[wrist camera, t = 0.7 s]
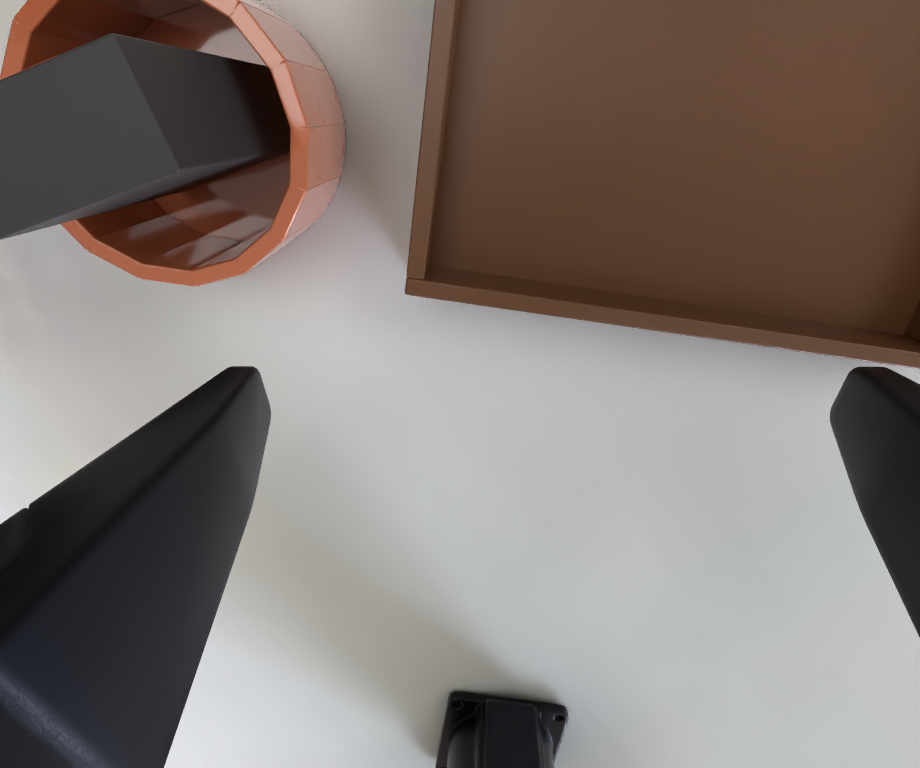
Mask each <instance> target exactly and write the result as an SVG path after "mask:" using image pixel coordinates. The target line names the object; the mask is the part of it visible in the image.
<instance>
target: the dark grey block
mask: <svg viewBox="0 0 920 768" xmlns="http://www.w3.org/2000/svg"><path fill="white" fill-rule="evenodd" d="M289 152H290V126H289V123H288V120H287V117H286V114H285V111H284V109H283V106H282V103H281V100H280V97H279V94H278V91H277V88H276V85H275V83H274V80H273V77H272V74H271V71H270V69H269V68H268V67H267V66H264V65H259V64H255V63H250V62H245V61H241V60H236V59H231V58H227V57H222V56H218V55H213V54H208V53H204V52H199V51H194V50H190V49H185V48H180V47H176V46H171V45H166V44H162V43H157V42H153V41H148V40H143V39H139V38H134V37H129V36H125V35H120V34H115V33H110V34H108V35H106V36H103V37H101V38H98V39H96V40H94V41H91V42H89V43H87V44H84V45H82V46H80V47H77V48H75V49H72V50H70V51H68V52H65V53H63V54H61V55H58V56H55V57H52V58H50V59H48V60H45V61H43V62H40V63H38V64H36V65H33V66H31V67H29V68H26V69H24V70H22V71H19V72H18V73H16V74H13V75H11V76H9V77H6V78H4V79H1V80H0V239H4V238H8V237H12V236H16V235H19V234H23V233H27V232H31V231H35V230H38V229H42V228H46V227H50V226H53V225H57V224H61V223H65V222H69V221H72V220H76V219H80V218H84V217H88V216H91V215H95V214H99V213H103V212H107V211H110V210H114V209H118V208H122V207H126V206H129V205H133V204H137V203H141V202H145V201H148V200H152V199H156V198H160V197H163V196H167V195H171V194H175V193H179V192H182V191H185V190H187V189H190V188H193V187H196V186H198V185H201V184H204V183H207V182H209V181H212V180H215V179H218V178H220V177H223V176H226V175H229V174H231V173H234V172H237V171H239V170H242V169H245V168H248V167H250V166H253V165H256V164H259V163H261V162H264V161H267V160H270V159H272V158H275V157H278V156H281V155H283V154H286V153H289Z"/></svg>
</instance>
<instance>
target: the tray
mask: <svg viewBox="0 0 920 768" xmlns="http://www.w3.org/2000/svg"><path fill="white" fill-rule="evenodd" d="M405 294H407V295H413V296H420V297H426V298H433V299H440V300H447V301H454V302H461V303H468V304H475V305H482V306H489V307H495V308H502V309H509V310H516V311H523V312H530V313H537V314H544V315H551V316H557V317H564V318H571V319H578V320H585V321H592V322H599V323H606V324H613V325H620V326H626V327H633V328H640V329H647V330H654V331H661V332H668V333H675V334H682V335H688V336H695V337H702V338H709V339H716V340H723V341H730V342H737V343H744V344H750V345H757V346H764V347H771V348H778V349H785V350H792V351H799V352H806V353H813V354H819V355H826V356H833V357H840V358H847V359H854V360H861V361H868V362H875V363H881V364H888V365H895V366H902V367H909V368H916V369H920V0H435V5H434V14H433V24H432V34H431V44H430V53H429V63H428V73H427V82H426V92H425V102H424V111H423V121H422V131H421V140H420V150H419V160H418V170H417V179H416V189H415V199H414V208H413V218H412V228H411V237H410V247H409V257H408V266H407V279H406V286H405Z"/></svg>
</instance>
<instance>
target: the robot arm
mask: <svg viewBox="0 0 920 768" xmlns="http://www.w3.org/2000/svg"><path fill="white" fill-rule="evenodd" d="M270 420H271V410H270V405H269V401H268V398H267V395H266V391H265V388H264V385H263V381H262V378H261V375H260V373H259V371H258V369H256V368H255V367H252V366H233V367H228V368H227V369H225V370H224V371H222V372H221V373H219V374H218V375H216V376H215V377H213V378H212V379H211V380H209V381H208V382H206V383H205V384H203V385H202V386H200V387H199V388H198V389H196V390H195V391H193V392H192V393H190V394H189V395H187V396H186V397H184V398H183V399H182V400H180V401H179V402H177V403H176V404H174V405H173V406H171V407H170V408H169V409H167V410H166V411H164V412H163V413H161V414H160V415H158V416H157V417H155V418H154V419H153V420H151V421H150V422H148V423H147V424H145V425H144V426H142V427H141V428H140V429H138V430H137V431H135V432H134V433H132V434H131V435H129V436H128V437H126V438H125V439H124V440H122V441H121V442H119V443H118V444H116V445H115V446H113V447H112V448H111V449H109V450H108V451H106V452H105V453H103V454H102V455H100V456H99V457H97V458H96V459H95V460H93V461H92V462H90V463H89V464H87V465H86V466H84V467H83V468H81V469H80V470H79V471H77V472H76V473H74V474H73V475H71V476H70V477H68V478H67V479H65V480H64V481H63V482H61V483H60V484H58V485H57V486H55V487H54V488H52V489H51V490H49V491H48V492H47V493H45V494H44V495H42V496H41V497H39V498H38V499H36V500H35V501H34V502H32V503H31V504H30V505H29V509H27V508H23V509H22V510H20V511H19V512H17V513H16V514H15V515H13V516H12V517H10V518H9V519H7V520H6V521H4V522H3V523H1V524H0V768H164V766H165V763H166V760H167V757H168V754H169V751H170V748H171V745H172V742H173V739H174V736H175V733H176V730H177V727H178V724H179V721H180V718H181V715H182V712H183V710H184V707H185V704H186V701H187V698H188V695H189V692H190V689H191V686H192V683H193V680H194V677H195V674H196V671H197V668H198V665H199V662H200V659H201V656H202V653H203V650H204V648H205V645H206V642H207V639H208V636H209V633H210V630H211V627H212V624H213V621H214V618H215V615H216V612H217V609H218V606H219V603H220V600H221V597H222V594H223V591H224V589H225V586H226V583H227V580H228V577H229V574H230V571H231V568H232V565H233V562H234V559H235V556H236V553H237V550H238V547H239V544H240V541H241V538H242V535H243V532H244V530H245V527H246V524H247V521H248V518H249V514H250V511H251V508H252V505H253V501H254V497H255V492H256V488H257V483H258V478H259V473H260V468H261V464H262V459H263V454H264V449H265V444H266V440H267V435H268V430H269V425H270ZM830 422H831V426H832V429H833V432H834V435H835V438H836V441H837V444H838V447H839V450H840V453H841V456H842V459H843V462H844V465H845V468H846V471H847V474H848V477H849V480H850V483H851V486H852V489H853V492H854V495H855V497H856V500H857V503H858V505H859V508H860V511H861V513H862V515H863V518H864V520H865V522H866V524H867V527H868V529H869V531H870V533H871V535H872V537H873V539H874V541H875V544H876V546H877V548H878V550H879V552H880V554H881V556H882V558H883V561H884V563H885V565H886V567H887V569H888V571H889V573H890V575H891V578H892V580H893V582H894V584H895V586H896V588H897V590H898V592H899V595H900V597H901V599H902V601H903V603H904V605H905V607H906V609H907V612H908V614H909V616H910V618H911V620H912V622H913V624H914V626H915V629H916V631H917V633H918V635H919V637H920V384H918V383H916V382H914V381H912V380H910V379H908V378H906V377H904V376H902V375H900V374H898V373H896V372H894V371H892V370H890V369H888V368H885V367H857V368H854V369H853V370H851V371H850V372H849V374H848V375H847V377H846V379H845V381H844V383H843V385H842V387H841V389H840V391H839V393H838V395H837V397H836V399H835V401H834V403H833V405H832V408H831V411H830ZM567 721H568V712H567V709H566V707H564V706H562V705H556V704H548V703H540V702H532V701H524V700H516V699H509V698H501V697H493V696H485V695H477V694H469V693H461V692H454V693H452V694H450V695H449V697H448V702H447V707H446V713H445V718H444V723H443V728H442V733H441V739H440V744H439V749H438V754H437V759H436V768H554V761H555V758H556V755H557V752H558V749H559V746H560V743H561V740H562V737H563V734H564V731H565V727H566V724H567Z"/></svg>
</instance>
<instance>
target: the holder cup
mask: <svg viewBox="0 0 920 768" xmlns="http://www.w3.org/2000/svg"><path fill="white" fill-rule="evenodd" d="M110 33H115V34H120V35H125V36H129V37H134V38H139V39H143V40H148V41H153V42H157V43H162V44H166V45H171V46H176V47H180V48H185V49H190V50H194V51H199V52H204V53H208V54H213V55H218V56H222V57H227V58H231V59H236V60H241V61H245V62H250V63H255V64H259V65H264V66H267V67H268V68H269V69H270V71H271V74H272V77H273V80H274V83H275V85H276V88H277V91H278V94H279V97H280V100H281V103H282V106H283V109H284V111H285V114H286V117H287V120H288V123H289V126H290V152H289V153H286V154H283V155H281V156H278V157H275V158H272V159H270V160H267V161H264V162H261V163H259V164H256V165H253V166H250V167H248V168H245V169H242V170H239V171H237V172H234V173H231V174H229V175H226V176H223V177H220V178H218V179H215V180H212V181H209V182H207V183H204V184H201V185H198V186H196V187H193V188H190V189H187V190H185V191H182V192H179V193H175V194H171V195H167V196H163V197H160V198H156V199H152V200H148V201H145V202H141V203H137V204H133V205H129V206H126V207H122V208H118V209H114V210H110V211H107V212H103V213H99V214H95V215H91V216H88V217H84V218H80V219H76V220H72V221H69V222H65V223H61V225H62V226H63V227H64V228H65V229H66V230H67V231H68V232H69V233H70V234H71V235H72V236H73V237H74V238H75V239H76V240H77V241H78V242H79V243H80V244H81V245H82V246H83V247H84V248H85V249H86V250H88V251H89V252H90V253H92V254H94V255H96V256H98V257H100V258H102V259H104V260H106V261H108V262H109V263H111V264H113V265H115V266H117V267H119V268H121V269H123V270H125V271H127V272H128V273H130V274H132V275H134V276H136V277H138V278H141V279H145V280H152V281H159V282H166V283H173V284H180V285H187V286H200V285H204V284H207V283H211V282H215V281H219V280H223V279H227V278H230V277H234V276H238V275H242V274H244V273H246V272H248V271H249V270H251V269H252V268H254V267H255V266H257V265H258V264H260V263H261V262H263V261H264V260H266V259H267V258H268V257H270V256H271V255H273V254H274V253H276V252H277V251H279V250H280V249H282V248H283V247H285V246H286V245H288V244H289V243H290V242H292V241H293V240H294V239H295V238H296V237H298V236H299V235H300V234H301V233H302V232H304V231H305V230H306V229H308V228H309V227H310V226H311V225H312V224H313V223H314V222H315V221H317V220H318V219H319V218H320V217H321V216H322V214H323V212H324V211H325V209H326V208H327V206H328V205H329V203H330V201H331V199H332V198H333V196H334V194H335V191H336V189H337V186H338V184H339V181H340V178H341V174H342V170H343V166H344V158H345V126H344V118H343V113H342V109H341V105H340V101H339V97H338V95H337V92H336V89H335V87H334V84H333V81H332V79H331V77H330V75H329V73H328V71H327V69H326V67H325V65H324V64H323V62H322V61H321V59H320V58H319V56H318V55H317V53H316V52H315V50H314V49H313V48H312V47H311V45H310V44H309V43H308V42H307V41H306V39H305V38H304V37H303V36H302V35H301V34H300V33H299V32H298V31H297V30H296V29H295V27H294V26H293V25H291V23H289V22H288V21H286V20H285V19H283V18H282V17H280V16H279V15H277V14H276V13H275V12H273V11H271V10H270V9H268V8H266V7H264V6H263V5H261V4H260V3H258V2H256V1H255V0H28V1H27V2H26V3H25V5H24V6H23V7H22V8H21V9H20V11H19V12H18V13H17V14H16V15H15V17H14V19H13V21H12V25H11V30H10V34H9V39H8V43H7V48H6V53H5V57H4V62H3V66H2V71H1V75H0V80H1V79H4V78H6V77H9V76H11V75H13V74H16V73H18V72H19V71H22V70H24V69H26V68H29V67H31V66H33V65H36V64H38V63H40V62H43V61H45V60H48V59H50V58H52V57H55V56H58V55H61V54H63V53H65V52H68V51H70V50H72V49H75V48H77V47H80V46H82V45H84V44H87V43H89V42H91V41H94V40H96V39H98V38H101V37H103V36H106V35H108V34H110Z"/></svg>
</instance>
